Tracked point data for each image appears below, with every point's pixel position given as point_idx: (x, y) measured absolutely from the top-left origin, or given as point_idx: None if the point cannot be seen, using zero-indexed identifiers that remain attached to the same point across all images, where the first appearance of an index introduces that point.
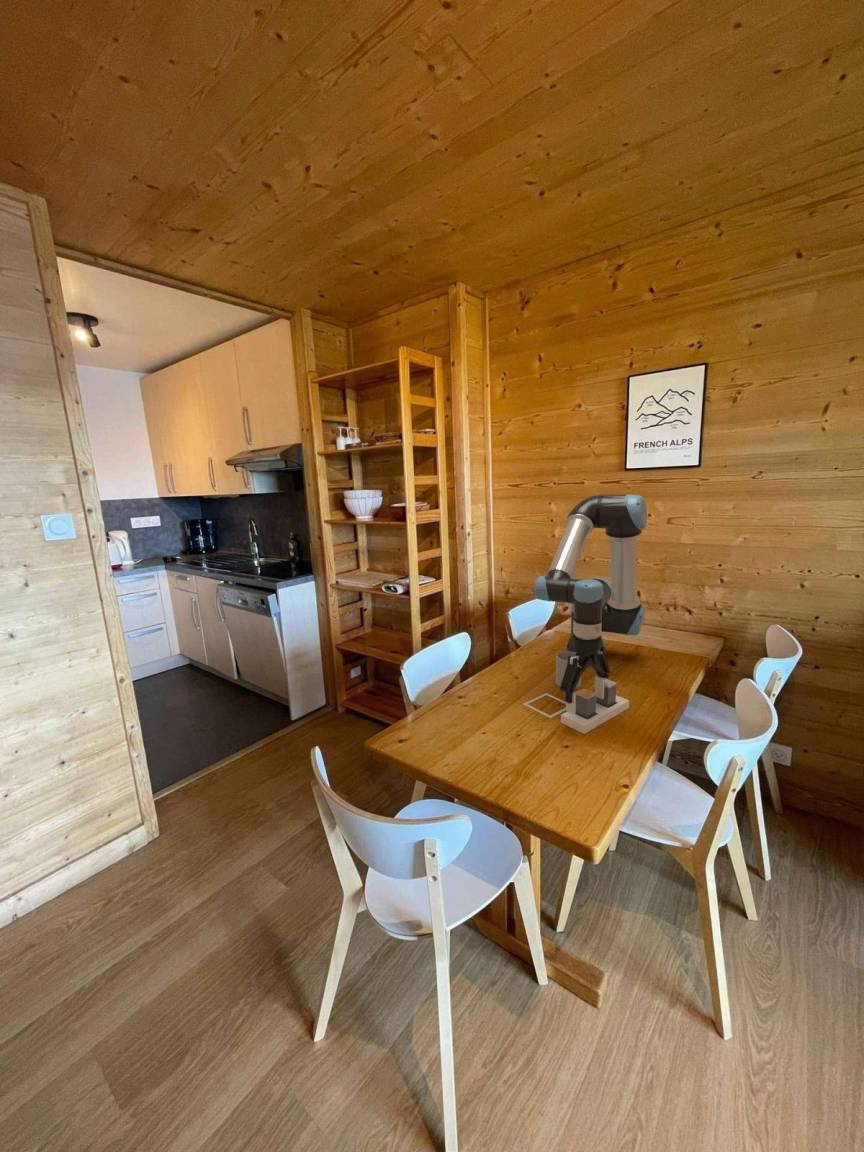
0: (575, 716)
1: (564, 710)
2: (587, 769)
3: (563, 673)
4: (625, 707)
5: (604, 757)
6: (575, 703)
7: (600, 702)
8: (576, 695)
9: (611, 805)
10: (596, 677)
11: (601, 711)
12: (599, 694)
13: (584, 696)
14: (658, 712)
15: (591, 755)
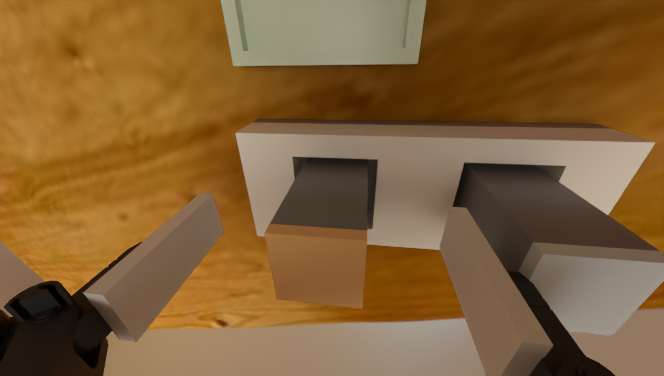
0: (279, 182)
1: (338, 64)
2: None
3: None
4: None
5: (251, 276)
6: (190, 272)
7: (468, 198)
8: (272, 225)
9: (169, 323)
10: (509, 342)
11: (396, 229)
12: (450, 248)
13: (275, 282)
14: None
15: (230, 257)
